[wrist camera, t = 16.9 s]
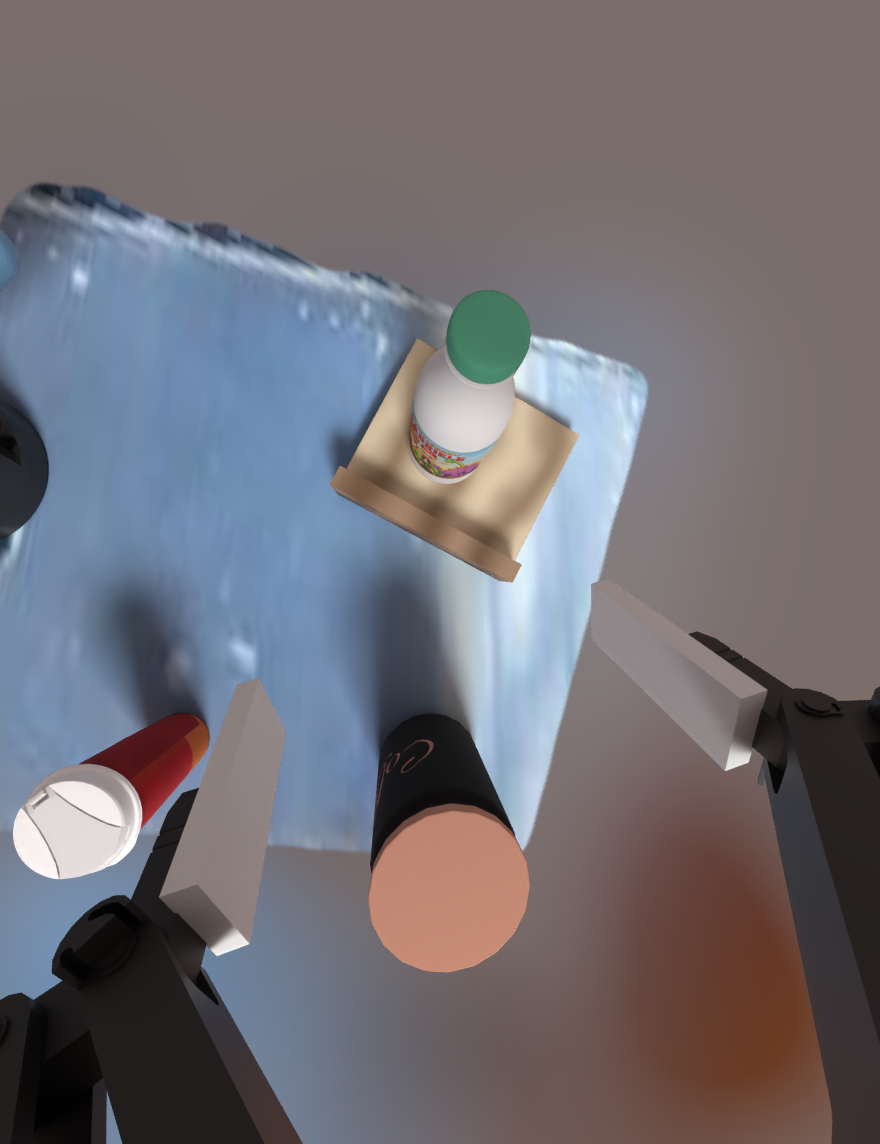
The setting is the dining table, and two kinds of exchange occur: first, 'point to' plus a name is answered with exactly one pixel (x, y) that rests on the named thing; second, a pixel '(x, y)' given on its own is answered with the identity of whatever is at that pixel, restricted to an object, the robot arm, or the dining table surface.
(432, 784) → the coffee jar
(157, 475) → the dining table surface
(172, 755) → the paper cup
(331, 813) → the dining table surface
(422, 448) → the milk bottle
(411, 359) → the light wooden flat tray
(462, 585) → the dining table surface
